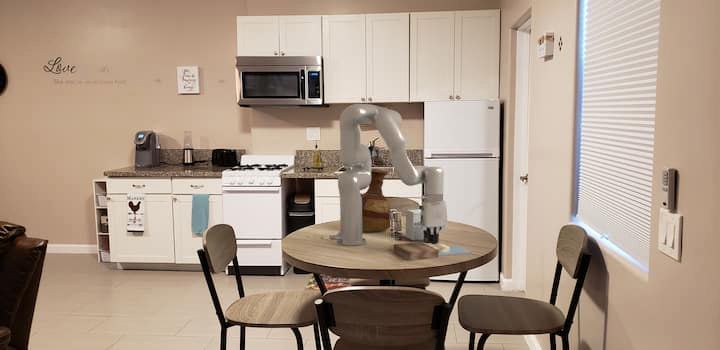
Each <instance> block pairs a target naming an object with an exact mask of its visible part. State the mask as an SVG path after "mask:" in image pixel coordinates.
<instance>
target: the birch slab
mask: <svg viewBox="0 0 720 350" xmlns="http://www.w3.org/2000/svg"><path fill="white" fill-rule="evenodd" d="M427 245H428V246H431V247H433V248H435V249H438V253H444V252H450V247H449V246H450V245H446V244H443V243H437V244H427Z"/></svg>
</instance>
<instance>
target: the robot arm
mask: <svg viewBox="0 0 720 350" xmlns="http://www.w3.org/2000/svg"><path fill="white" fill-rule="evenodd" d="M402 124H403V119H402V116H401V114H400V113H399V112H398V111H396V110H393V109H390V108H386V107H383V106H379V105H376V104H375V105H374V104H370V103H369V104H368V103H354V104H351V105H349V106H347V107H346V108H345V109H344V110H343V111H342V112H341V114H340V117H339V136H340V137H339V145H340V148H339V149H340V150H339V153H340V154H339V155H340V162H341V164H342V165H344V166H345V167H347V168H348V167H349V168H351V169H348V170H345V171H343V172H342V173H340V175H339V177H338V179H337V188H338V194H339V211H340V213H339V216H340V220H339V221H340V222H339V223H340V229H339V230H340V231H338V232H337V233H336V234H329V240H330V241H331V240H332V241H333V240H334V241H336V243H337V244H338V245H339V246H340V245H341V246H348V247H352V246H353V247H354V246H356V247H357V246H362V245H364V244H366V243H367V240H366V238H363V231H362V198H361V194H362V193H361V191H363V190H366V189H367V188H369V185H370V183H371V168H372V155H371V151H370V149H369V147H368V146H366V145H365V144H363V143H361V132H360V129H359V125H372V126H375V128H376V129H377V131H378V133H379V134H380V136H381V138H382V140H383V141H384V143H385V144H386V146H387V148H388V150H389V156H390V160H391V165H392V168H393V169H394V171H395V172H396V175H397V176H398V178H399V179H400V181H401V182H402V183H403V184H404V185H406V186H409V187H412V186H413V187H414V186H417V185H420V184H423V186H424V188H423V192H424V194H423V195H421V200H422V204H421V208H420V209H421V217H420V222H421V229H422V230H426V231H427V232H428V233H429V242H430V243H429V244H430V245H436V244H438V243H437V235H438V233H439V234H440V231H442V230H443V229H445V228H446V226H447V225H448V210H447V205H446V201H445V200H444V176H445V175H444V169H443V167H441V166H425V165H418V164H417V165H413V164H412V162H411V161H410V160H411V159H409V157H408V154H407V148H408V147H407V146H408V143H409V140H408V138H407V136H406V134H405V133H404V131H403V129H402V127H401V126H402ZM360 193H361V194H360ZM425 226H426V227H425Z"/></svg>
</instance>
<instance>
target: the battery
mask: <svg viewBox="0 0 720 350" xmlns="http://www.w3.org/2000/svg"><path fill="white" fill-rule="evenodd" d="M425 227H426V226H425ZM439 234H440V232H439V233H438V235H437V244H439V241H440V238H439V237H440V235H439ZM422 240H423V242H424V244H426V243H427V244H428V243H429V244H431V243H430V242H429V233H428V232H427V231H426V230H423V239H422Z"/></svg>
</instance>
